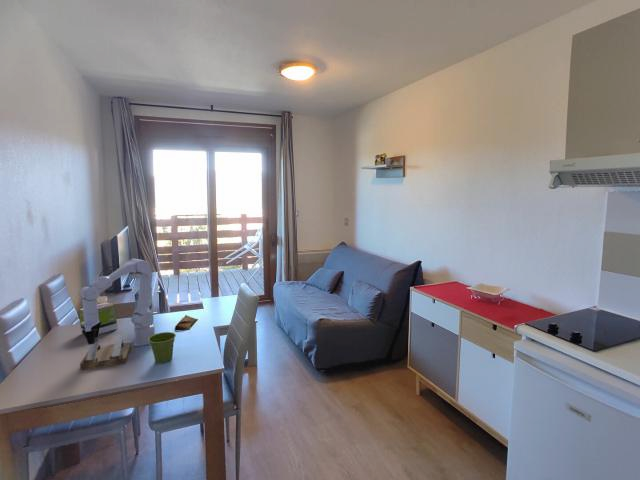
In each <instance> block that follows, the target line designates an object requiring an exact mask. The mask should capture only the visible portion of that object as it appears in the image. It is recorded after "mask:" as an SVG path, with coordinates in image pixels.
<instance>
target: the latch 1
mask: <svg viewBox="0 0 640 480" xmlns="http://www.w3.org/2000/svg"><path fill="white" fill-rule="evenodd" d="M99 342H100V337H98V338H95V342H94V344H89V349H88V350H89V353H88V357H87V361H94V360H95V357H96V353H97V348H98V345H99V344H100V343H99Z"/></svg>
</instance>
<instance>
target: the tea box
mask: <svg viewBox="0 0 640 480" xmlns="http://www.w3.org/2000/svg"><path fill="white" fill-rule="evenodd" d="M97 306H98V317H99V321H102V323H101V325H100V328H99V335H101V334H105V333H108V332H111V331H114V330H117V329H118V323H117V321H118V320H117V314H116V313H117V312H116V305H115V304H113V303H111V302H107V301H105V302H102V303H101V302H100V303H97ZM78 314H79V321H80V322H79V323H80V331H81V334H82V335H84V334H83V333H82V330H85V326H84V325H81V323H82V322H84V315H83V307H82V308H79V309H78Z"/></svg>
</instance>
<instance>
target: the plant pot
mask: <svg viewBox="0 0 640 480" xmlns="http://www.w3.org/2000/svg"><path fill="white" fill-rule="evenodd" d="M176 335H177V334H176V333H174V332H172V331H171V332H170V331H165V332H163V331H162V332H159V333H155V335H152V336H151V337H149V338H148V341H149V342H150V344H149V346H151V349H152V354H153V357H154V360H155V362H156V364H157V363H158V364H164V363H166V362H170V361H171V360H172V359H173V353H174V345H175V344H174V343H175V338H176Z"/></svg>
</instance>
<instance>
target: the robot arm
mask: <svg viewBox="0 0 640 480" xmlns="http://www.w3.org/2000/svg"><path fill="white" fill-rule="evenodd" d="M128 273H135V274H137V275H138V276H139V277H140V279H139V288H138V291H139V295H138V304H137V308H136V307H135V309H134V310H133V314H132V315H131V318H130V319H131V323H132V324H134V326H133V327H134V337H135V342H134V344H133V347H139V346H140V347H141V346H147V345H149V346H150V342H149V341H148V338H149V337H151V336H152V335H155V334H156V329H155V324H153V323H152V317H151V311H150V310H149V301H150V292H151V287H152V283H153V272H152V269H151V263H150V262H148V261H147V260H146V259H145V260H144V259H138V258H134V257H133V258H130V259H129V260H127V261H125V263H123V264H122V265H121V266H120V267H119V268H116V270H114V271H113V272H112V273H110V274H109V275H103V276H98V279H97V280H95V281H94V282H91V283H89V284H88V285H87V286H84V287H82V288H81V289H80V291H79V293H78V296H79V297H80V298H81V304H82V308H83V315H84V322H82V323H81V324H80V326H81V325H84V326H85V330H82V331H81V334H82V333H83V334H82V335H83V336H84V337H85V340H86V341H87V344H88V345H91V344H94V342H95V338H99V335H100V334H99V328H100V325H101V323H102V321H99V317H98V306H97V304H98V297H99V295H100V294H102V293H103V292H104V291H106V290H107V289H109V288H110V287H112V285H113V283H114V281H116V280H118V279H119V278H121V277H123V276H125V275H126V274H128ZM151 323H152V325H151Z"/></svg>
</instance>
